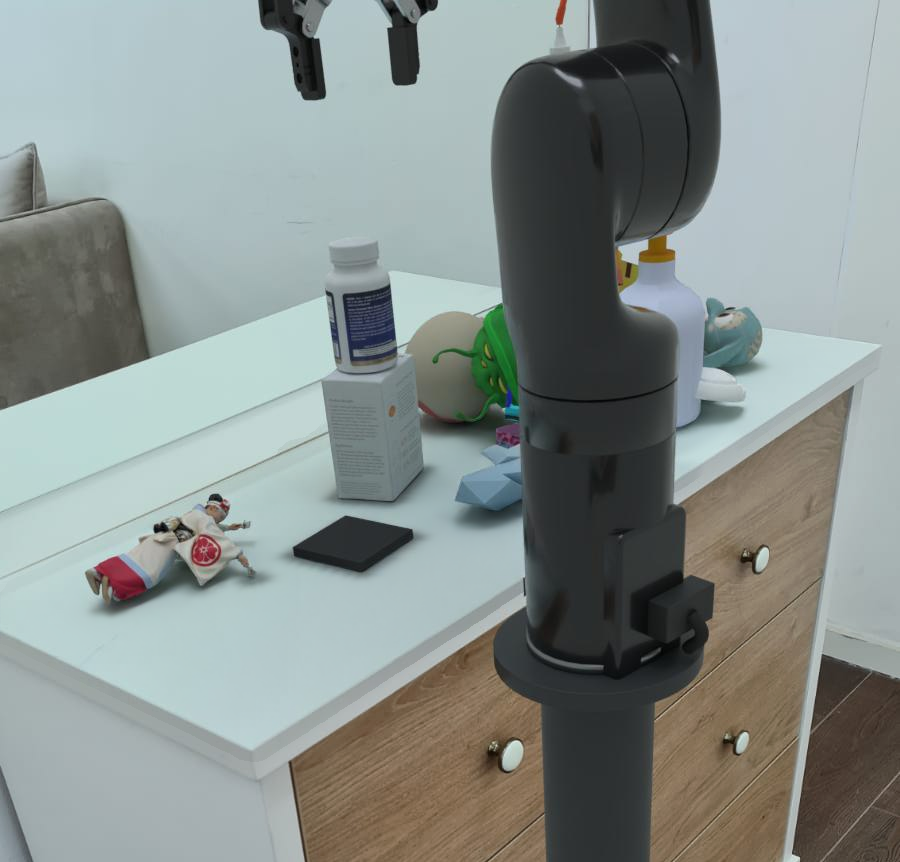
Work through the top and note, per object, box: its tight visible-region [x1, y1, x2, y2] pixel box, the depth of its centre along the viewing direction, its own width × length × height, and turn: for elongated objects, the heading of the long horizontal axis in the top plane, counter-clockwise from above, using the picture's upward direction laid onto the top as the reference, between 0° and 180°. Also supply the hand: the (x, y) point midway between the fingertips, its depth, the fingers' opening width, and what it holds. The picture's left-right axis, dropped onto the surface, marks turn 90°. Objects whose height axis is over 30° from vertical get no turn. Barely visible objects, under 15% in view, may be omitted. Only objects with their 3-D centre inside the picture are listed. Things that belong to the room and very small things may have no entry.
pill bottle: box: [324, 235, 399, 373], centre depth 97 cm, size 5×5×10 cm
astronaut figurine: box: [695, 367, 747, 403], centre depth 115 cm, size 9×12×3 cm
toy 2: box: [404, 310, 490, 423], centre depth 116 cm, size 10×12×10 cm
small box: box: [320, 353, 425, 502], centre depth 103 cm, size 8×6×10 cm
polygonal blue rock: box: [453, 443, 522, 512], centre depth 99 cm, size 13×7×5 cm, turn 135°
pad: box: [292, 514, 414, 573], centre depth 95 cm, size 7×7×1 cm
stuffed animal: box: [703, 297, 763, 369], centre depth 125 cm, size 11×7×12 cm
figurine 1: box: [84, 493, 257, 605], centre depth 93 cm, size 6×8×15 cm
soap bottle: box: [620, 232, 706, 429], centre depth 107 cm, size 9×9×25 cm
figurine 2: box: [432, 303, 519, 422], centre depth 108 cm, size 13×15×10 cm
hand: (361, 92), depth 87 cm, fingers open, 8 cm apart
